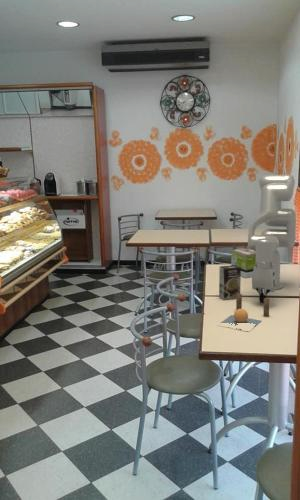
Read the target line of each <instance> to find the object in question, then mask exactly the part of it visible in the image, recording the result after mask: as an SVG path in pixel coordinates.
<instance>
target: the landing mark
mask: <svg viewBox="0 0 300 500" xmlns="http://www.w3.org/2000/svg"><path fill="white" fill-rule="evenodd" d="M261 322H262V320H259V319H256V318H255V319H254V318H249V317H248V319H247V321H245V322H244V323H250V324H251V323H253V324H256V326H258V325H259V324H260V323H261ZM220 323H229V324H230V323H232V324H233V323H234V324H235V326H236V325H238V324H237V323H239V322H237V321H236V320H235V318H234V314H231V315H229V316H228V317H226V318H225V319H224V320H222V321H221V322H220ZM258 323H259V324H258ZM232 324H231V325H232ZM257 324H258V325H257ZM236 329H237V328H236ZM236 329H235V330H236Z"/></svg>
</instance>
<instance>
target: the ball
mask: <svg viewBox="0 0 300 500" xmlns="http://www.w3.org/2000/svg"><path fill="white" fill-rule="evenodd" d="M233 315H234V318H235V320H236V321H237V322H239V323H244V322H245V321H247V319H248V318H249V313H248V311H247V310H246V309H243V308H242V309H237V310H236V309H235V311H234V313H233Z"/></svg>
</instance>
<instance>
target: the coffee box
mask: <svg viewBox="0 0 300 500" xmlns="http://www.w3.org/2000/svg"><path fill="white" fill-rule="evenodd" d="M218 270H219V276H218V277H219V279H218V281H219V284H218V285H219V286H218V288H219V289H218V290H219V291H218V297H219V298H221V300H223V301H228V300H236V294H241V281H242V279H241V278H242V276H241V267H239V266H236V265H221V266H219V269H218Z"/></svg>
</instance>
